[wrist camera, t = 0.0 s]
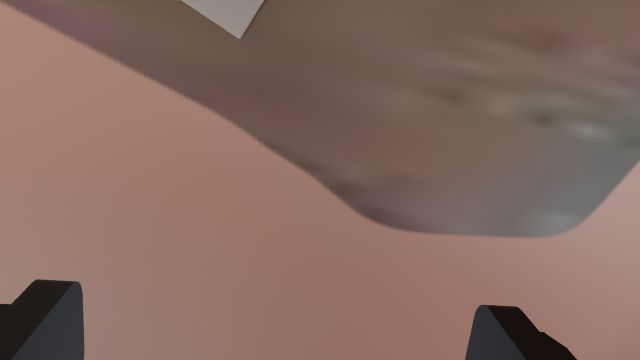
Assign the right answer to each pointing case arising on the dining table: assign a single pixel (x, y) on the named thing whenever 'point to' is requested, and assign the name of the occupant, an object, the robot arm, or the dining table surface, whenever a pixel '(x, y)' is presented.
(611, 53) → the dining table surface
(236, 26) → the gauge base
